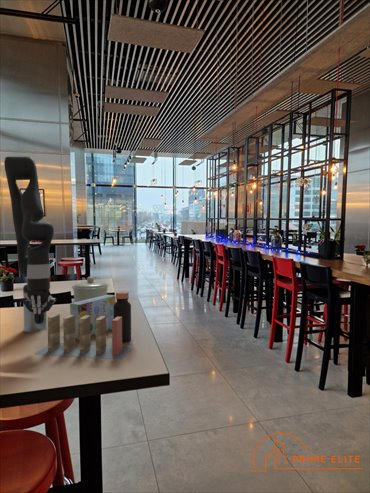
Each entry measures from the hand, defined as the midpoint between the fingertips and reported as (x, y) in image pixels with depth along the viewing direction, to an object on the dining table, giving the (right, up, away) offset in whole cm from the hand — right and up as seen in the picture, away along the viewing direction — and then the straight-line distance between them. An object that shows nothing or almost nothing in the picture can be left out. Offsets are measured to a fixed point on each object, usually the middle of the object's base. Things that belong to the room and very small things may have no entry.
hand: (39, 323), depth 115 cm
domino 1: (+6, -9, 0) cm, 11 cm away
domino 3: (+17, -9, -2) cm, 20 cm away
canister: (+5, -9, +46) cm, 47 cm away
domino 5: (+29, -9, -3) cm, 31 cm away
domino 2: (+12, -9, -1) cm, 15 cm away
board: (+17, -10, -2) cm, 20 cm away
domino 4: (+23, -9, -3) cm, 25 cm away
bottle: (+29, -10, +9) cm, 32 cm away
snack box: (+14, -10, +21) cm, 27 cm away
